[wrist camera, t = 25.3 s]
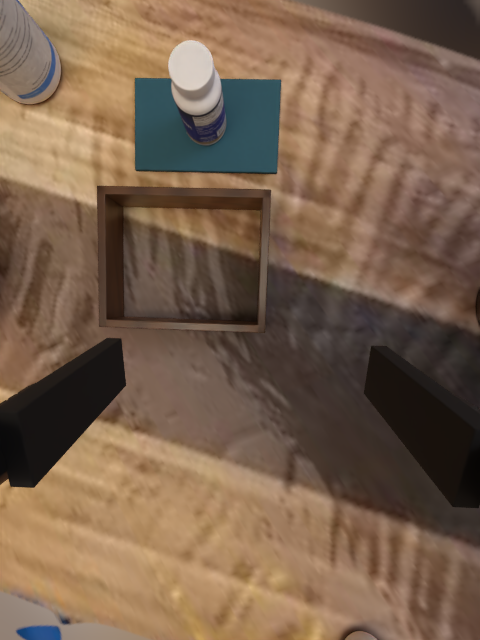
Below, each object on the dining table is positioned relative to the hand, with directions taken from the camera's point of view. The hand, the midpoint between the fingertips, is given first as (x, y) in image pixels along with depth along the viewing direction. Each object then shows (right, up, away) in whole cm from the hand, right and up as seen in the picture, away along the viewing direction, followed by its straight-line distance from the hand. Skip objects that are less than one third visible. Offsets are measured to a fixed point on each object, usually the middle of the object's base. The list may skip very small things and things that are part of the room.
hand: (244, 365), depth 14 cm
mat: (-5, +29, +23) cm, 38 cm away
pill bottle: (-5, +29, +23) cm, 38 cm away
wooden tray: (-8, +11, +25) cm, 28 cm away
